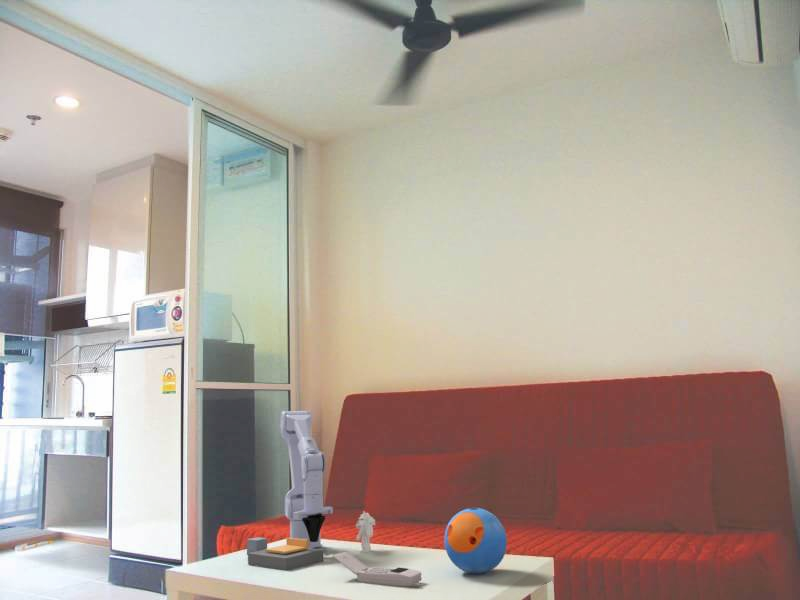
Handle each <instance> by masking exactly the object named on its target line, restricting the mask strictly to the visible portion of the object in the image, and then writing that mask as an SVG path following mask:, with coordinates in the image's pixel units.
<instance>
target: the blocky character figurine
mask: <svg viewBox="0 0 800 600" xmlns="http://www.w3.org/2000/svg"><path fill="white" fill-rule="evenodd" d="M373 526H374V527H375V526H376V519H374V517H372V515H370V514H369V512H366V511H364V510H363V512H362V514H360V516H359V517H358V520H357V522H356V523H355V528H356V529H357V530H359V531H358V534H357V536H356V537H355V540H356V542H359V541H360V539H361V549H359V553H368V552H369V551H372V547H371V543H370V538H372V537H373V536H374V534H373V533H374V527H373Z"/></svg>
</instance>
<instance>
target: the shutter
mask: <svg viewBox="0 0 800 600" xmlns="http://www.w3.org/2000/svg"><path fill="white" fill-rule="evenodd" d="M285 542H286V544H284V545H283V544H282V545H277V546H275V547H269V548H268V547H267V549H265V552H273V553H281V554H287V553H292V552H296V551H300V550H305V549H309V540H307V539H297V538H290V537H286V541H285Z"/></svg>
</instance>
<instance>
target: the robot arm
mask: <svg viewBox="0 0 800 600" xmlns="http://www.w3.org/2000/svg"><path fill="white" fill-rule="evenodd" d="M279 417H280V420H279V425H280V426H279V427H280V435H281V438H282V439H284V440H285V441H286V443H287V447H288V457H289V467H290V475H291V487H292V488H291V489H290V490H289V491H288V492H287V493H286V494H285V497H284V515H285V517H286V518H287V519H288V520H289V538H297V539H307V540H309V548H314V549H317V548H319V547H323V544H321V540H322V539H321V538H322V537H321V531H322V530H321V529H322V526H323V525H324V521H325V520H326V516H325V515H326V514H327V515H328V514H333V513H334V509H333V506H324V494H323V493H324V489H323V487H324V486H323V485H324V484H323V483H324V482H323V479H324V478H323V473H324V472H325V468H326V458H325V454H324V452H322V451H321V450H319V448H318V446H317V441H316V440H315V438H313V437H312V436H311V434H310V433H311V432H310V431H311V427H312V425H313V424H312V423H313V417H312V413H311V411H310V410H297V411H295V410H292V411H291V410H289V411H288V410H287V411H286V410H283V411H282V412H281V414H280V416H279Z"/></svg>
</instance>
